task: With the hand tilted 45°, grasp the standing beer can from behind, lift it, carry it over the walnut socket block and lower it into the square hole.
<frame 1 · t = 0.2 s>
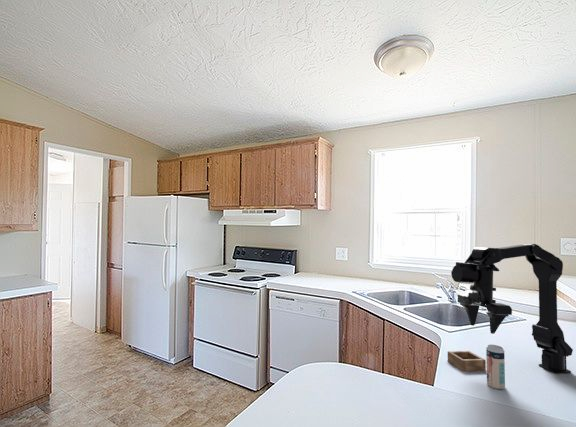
hand: (482, 329, 109), 14 cm above the worktop, tool pointing down, fingers open, 9 cm apart
socket block: (466, 365, 113), on the worktop
beer can: (495, 387, 98), on the worktop
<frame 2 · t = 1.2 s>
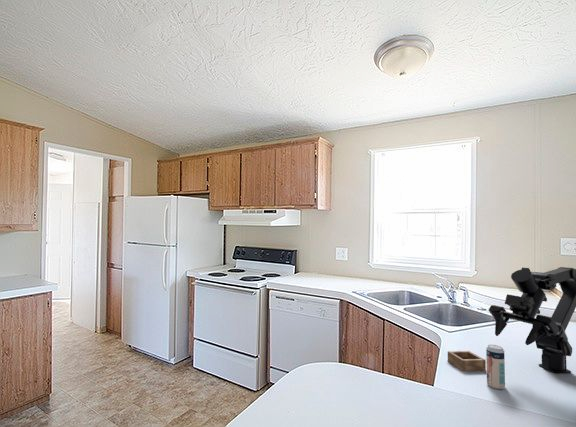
hand: (510, 339, 102), 13 cm above the worktop, tool tilted 45°, fingers open, 9 cm apart
nothing on the worktop moved.
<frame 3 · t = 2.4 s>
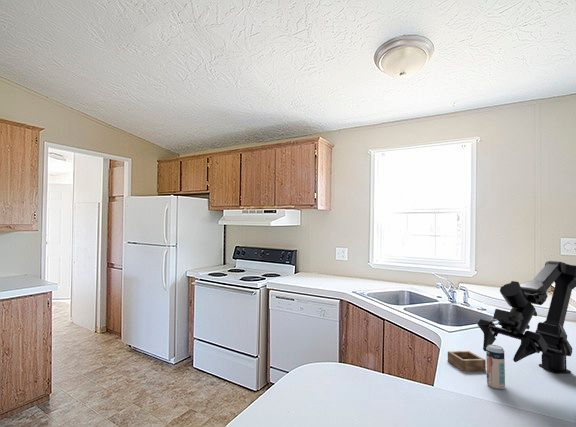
hand: (498, 355, 99), 9 cm above the worktop, tool tilted 45°, fingers open, 9 cm apart
nothing on the worktop moved.
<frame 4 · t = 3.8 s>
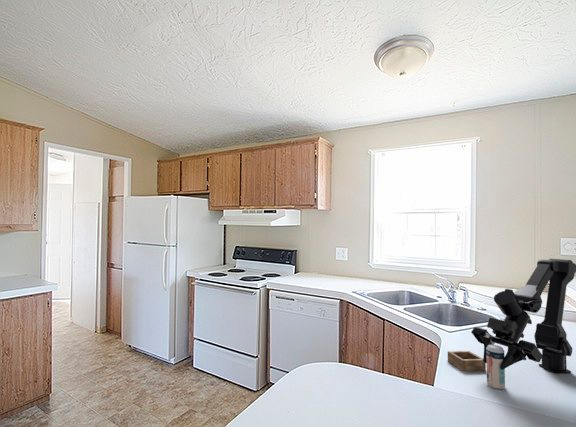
hand: (492, 365, 98), 7 cm above the worktop, tool tilted 45°, fingers closed on beer can, 5 cm apart
beer can: (495, 387, 98), on the worktop, touching gripper
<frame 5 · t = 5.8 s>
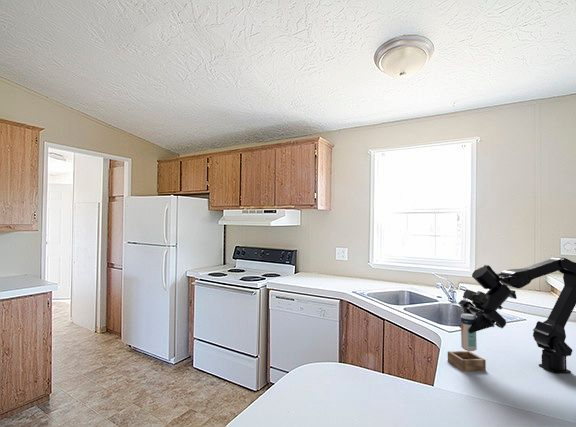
hand: (464, 329, 112), 13 cm above the worktop, tool tilted 45°, fingers closed on beer can, 5 cm apart
beer can: (469, 349, 111), point 6 cm above the worktop, touching gripper
when the fingers open (8 cm above the worktop, at t = 7.6 s): beer can drops 1 cm, resting in socket block.
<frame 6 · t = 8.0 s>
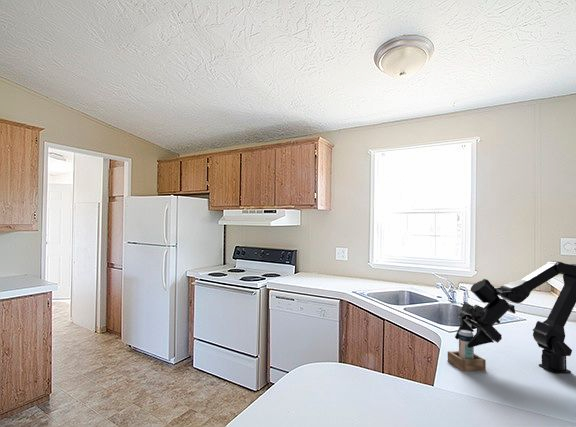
hand: (461, 342, 114), 8 cm above the worktop, tool tilted 45°, fingers open, 8 cm apart
beer can: (466, 366, 113), resting in socket block
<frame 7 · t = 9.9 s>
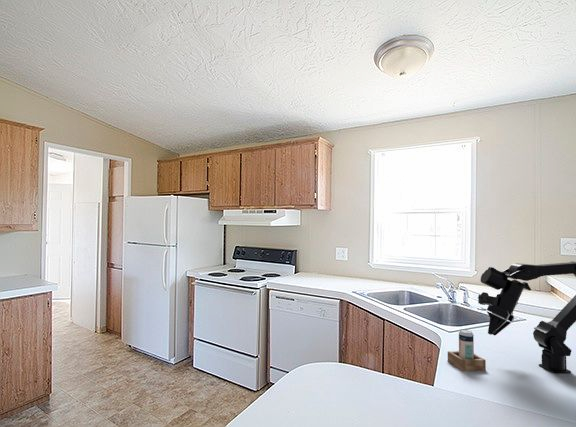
hand: (491, 334, 115), 11 cm above the worktop, tool tilted 25°, fingers open, 9 cm apart
nothing on the worktop moved.
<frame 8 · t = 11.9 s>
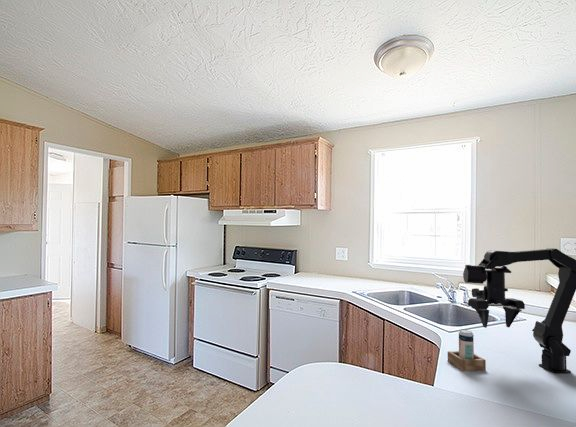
hand: (496, 327, 116), 13 cm above the worktop, tool pointing down, fingers open, 9 cm apart
nothing on the worktop moved.
at the end: beer can 0.1 cm off-centre on the socket block, point 0.0 cm above the socket block's base; beer can tilted 0°; the gripper is holding nothing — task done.
